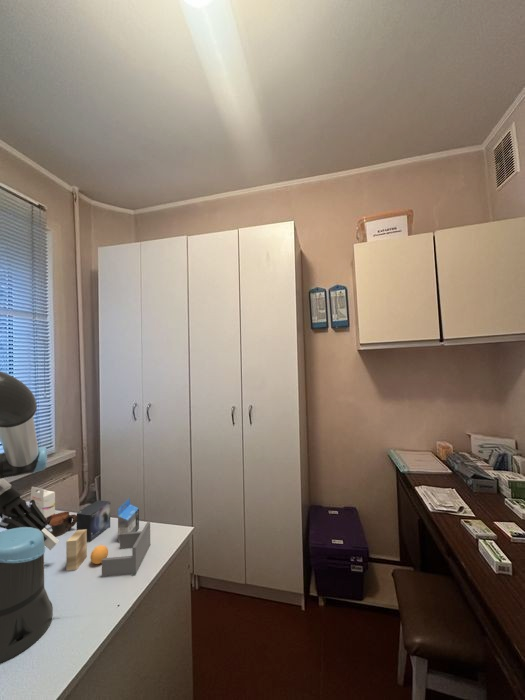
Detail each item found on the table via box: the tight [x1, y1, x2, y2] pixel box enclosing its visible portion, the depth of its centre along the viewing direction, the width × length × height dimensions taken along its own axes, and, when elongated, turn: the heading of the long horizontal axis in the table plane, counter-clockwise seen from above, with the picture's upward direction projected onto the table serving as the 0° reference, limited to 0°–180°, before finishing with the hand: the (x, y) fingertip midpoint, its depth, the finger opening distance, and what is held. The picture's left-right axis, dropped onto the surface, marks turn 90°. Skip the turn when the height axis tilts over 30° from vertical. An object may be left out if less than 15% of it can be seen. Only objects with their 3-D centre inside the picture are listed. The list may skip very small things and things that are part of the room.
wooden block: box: [65, 529, 88, 571], centre depth 92 cm, size 6×3×9 cm, turn 4°
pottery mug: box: [47, 511, 77, 538], centre depth 112 cm, size 12×10×8 cm
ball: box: [89, 544, 109, 565], centre depth 93 cm, size 5×5×5 cm
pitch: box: [101, 521, 151, 578], centre depth 93 cm, size 15×24×8 cm, turn 95°
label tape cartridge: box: [117, 497, 140, 543], centre depth 107 cm, size 9×4×12 cm, turn 178°
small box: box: [75, 499, 111, 543], centre depth 109 cm, size 11×6×10 cm, turn 168°
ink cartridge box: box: [30, 486, 56, 519], centre depth 120 cm, size 9×5×15 cm, turn 70°
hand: (54, 545), depth 92 cm, fingers closed
